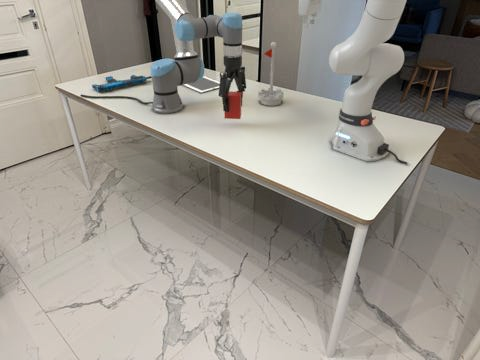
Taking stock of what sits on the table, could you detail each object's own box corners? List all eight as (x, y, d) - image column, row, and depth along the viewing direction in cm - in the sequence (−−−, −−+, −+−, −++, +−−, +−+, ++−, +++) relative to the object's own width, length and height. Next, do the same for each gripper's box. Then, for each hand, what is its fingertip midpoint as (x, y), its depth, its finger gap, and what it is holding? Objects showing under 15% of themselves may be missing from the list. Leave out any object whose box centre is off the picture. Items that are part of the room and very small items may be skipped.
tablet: (171, 80, 212) (171, 79, 212) (198, 74, 223) (197, 73, 223) (200, 93, 192) (200, 92, 192) (228, 85, 203) (228, 85, 203)
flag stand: (276, 96, 187) (279, 38, 170) (287, 104, 177) (292, 43, 160) (254, 99, 183) (255, 40, 167) (264, 107, 173) (267, 45, 156)
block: (225, 113, 155) (225, 91, 149) (241, 114, 155) (241, 91, 149) (224, 118, 151) (224, 95, 145) (240, 119, 150) (240, 95, 144)
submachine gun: (137, 69, 223) (155, 75, 206) (138, 75, 224) (156, 82, 208) (84, 79, 204) (100, 87, 187) (86, 86, 206) (101, 94, 189)
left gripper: (241, 49, 147) (241, 99, 159) (207, 58, 133) (210, 113, 146) (255, 52, 143) (254, 103, 155) (222, 62, 129) (223, 117, 142)
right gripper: (313, -12, 153) (309, 21, 160) (297, -9, 137) (294, 28, 145) (326, -12, 150) (322, 22, 158) (312, -9, 135) (308, 29, 143)
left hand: (232, 108), depth 150 cm, fingers closed on block, 8 cm apart
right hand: (308, 25), depth 151 cm, fingers open, 8 cm apart
